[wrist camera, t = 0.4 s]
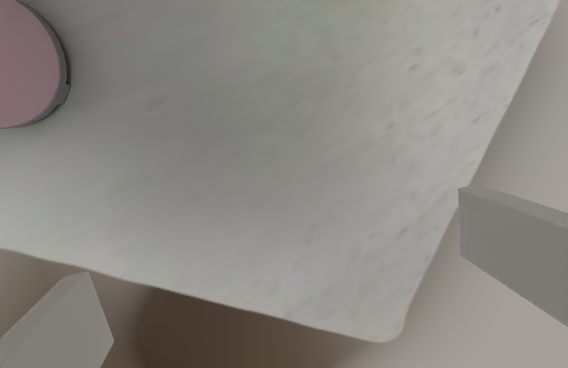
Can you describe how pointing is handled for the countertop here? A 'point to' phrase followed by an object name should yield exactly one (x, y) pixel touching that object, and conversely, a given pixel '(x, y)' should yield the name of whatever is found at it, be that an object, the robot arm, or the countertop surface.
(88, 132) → the countertop surface
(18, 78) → the blender
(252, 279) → the countertop surface
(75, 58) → the countertop surface
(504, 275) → the robot arm
